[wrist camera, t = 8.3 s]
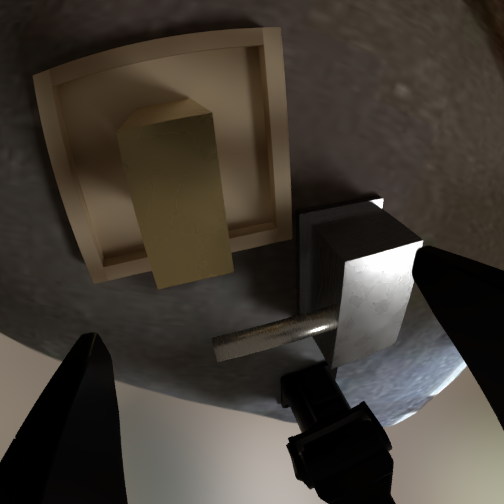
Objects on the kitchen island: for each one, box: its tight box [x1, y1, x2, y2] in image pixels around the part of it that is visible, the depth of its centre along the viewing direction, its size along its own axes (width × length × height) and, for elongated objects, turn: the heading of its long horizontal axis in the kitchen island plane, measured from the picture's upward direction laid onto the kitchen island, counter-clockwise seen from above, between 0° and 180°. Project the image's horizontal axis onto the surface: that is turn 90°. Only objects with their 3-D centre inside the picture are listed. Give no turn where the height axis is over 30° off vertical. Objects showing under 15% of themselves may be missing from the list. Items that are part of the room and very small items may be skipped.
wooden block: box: [116, 98, 234, 289], centre depth 14 cm, size 6×3×8 cm, turn 5°
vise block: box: [211, 195, 423, 369], centre depth 22 cm, size 11×14×6 cm
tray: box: [33, 27, 292, 284], centre depth 17 cm, size 13×13×2 cm
